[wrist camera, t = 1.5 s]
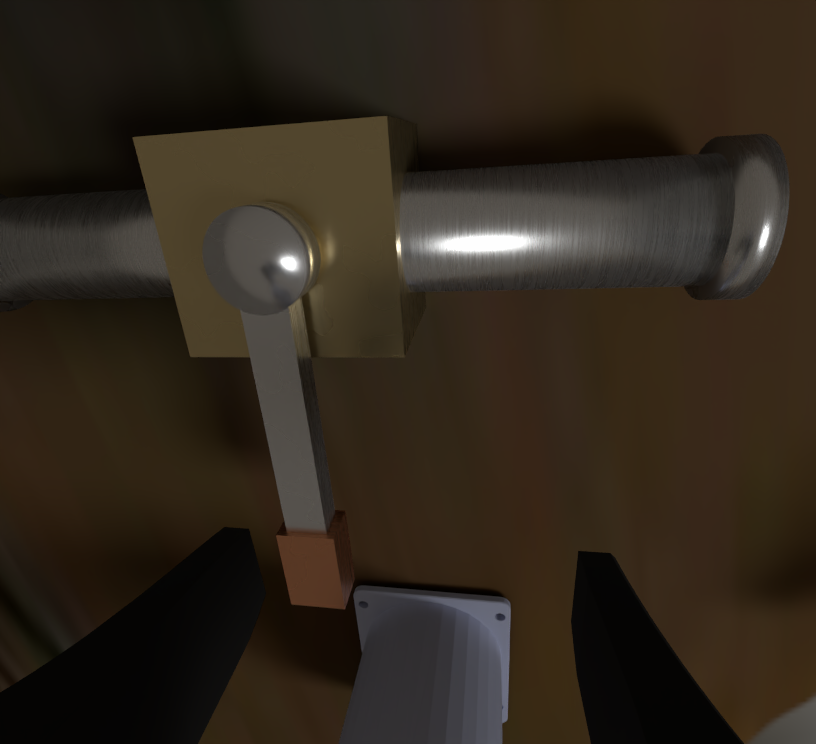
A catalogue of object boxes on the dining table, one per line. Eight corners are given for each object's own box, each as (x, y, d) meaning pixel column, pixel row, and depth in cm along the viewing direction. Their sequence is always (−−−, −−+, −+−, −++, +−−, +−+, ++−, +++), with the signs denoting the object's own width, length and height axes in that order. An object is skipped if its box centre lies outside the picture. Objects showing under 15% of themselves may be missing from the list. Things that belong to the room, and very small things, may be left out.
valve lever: (217, 203, 14) (188, 209, 12) (314, 198, 13) (294, 204, 12) (295, 573, 19) (280, 603, 18) (365, 579, 19) (355, 610, 17)
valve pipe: (691, 303, 18) (758, 358, 13) (58, 313, 22) (-54, 356, 18) (727, 98, 15) (826, 78, 10) (1, 157, 19) (-148, 160, 15)
